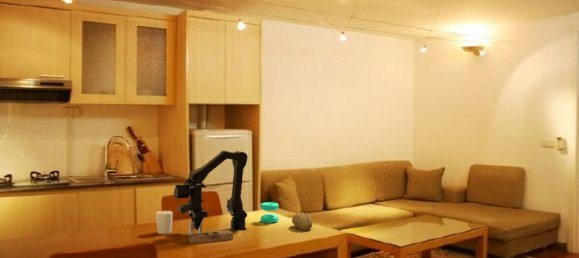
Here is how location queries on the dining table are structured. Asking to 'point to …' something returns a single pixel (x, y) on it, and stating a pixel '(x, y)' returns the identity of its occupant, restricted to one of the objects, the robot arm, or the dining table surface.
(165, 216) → the white cup
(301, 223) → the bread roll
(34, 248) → the dining table surface
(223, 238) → the rail
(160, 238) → the dining table surface
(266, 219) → the donuts
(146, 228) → the dining table surface
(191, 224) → the grey arch block
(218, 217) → the dining table surface
